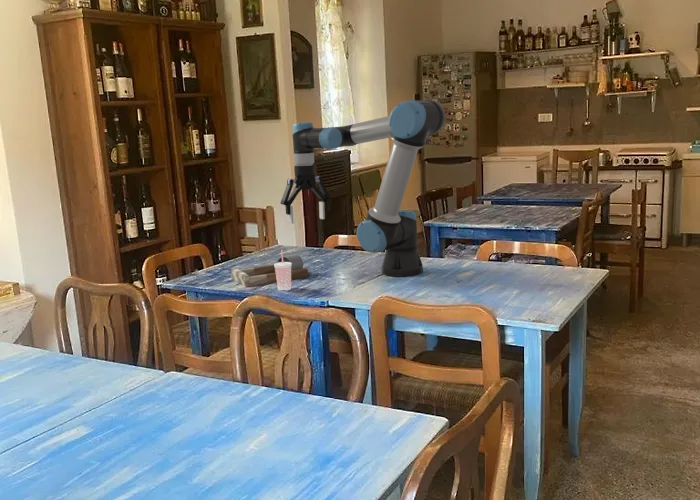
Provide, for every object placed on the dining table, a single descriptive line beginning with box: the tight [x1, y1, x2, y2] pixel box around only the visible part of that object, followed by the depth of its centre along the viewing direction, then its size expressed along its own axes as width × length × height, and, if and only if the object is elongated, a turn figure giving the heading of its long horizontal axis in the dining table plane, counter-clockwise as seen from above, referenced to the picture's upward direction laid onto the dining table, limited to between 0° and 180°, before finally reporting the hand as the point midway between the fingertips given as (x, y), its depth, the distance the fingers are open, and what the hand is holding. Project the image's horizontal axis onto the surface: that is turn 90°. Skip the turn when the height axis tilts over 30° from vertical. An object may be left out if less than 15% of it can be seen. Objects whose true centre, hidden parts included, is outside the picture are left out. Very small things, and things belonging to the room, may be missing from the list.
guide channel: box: [230, 263, 309, 288], centre depth 266 cm, size 16×24×4 cm, turn 116°
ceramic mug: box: [275, 254, 304, 273], centre depth 269 cm, size 11×8×8 cm
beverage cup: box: [274, 249, 292, 291], centre depth 247 cm, size 6×6×14 cm
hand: (306, 221), depth 270 cm, fingers open, 13 cm apart
